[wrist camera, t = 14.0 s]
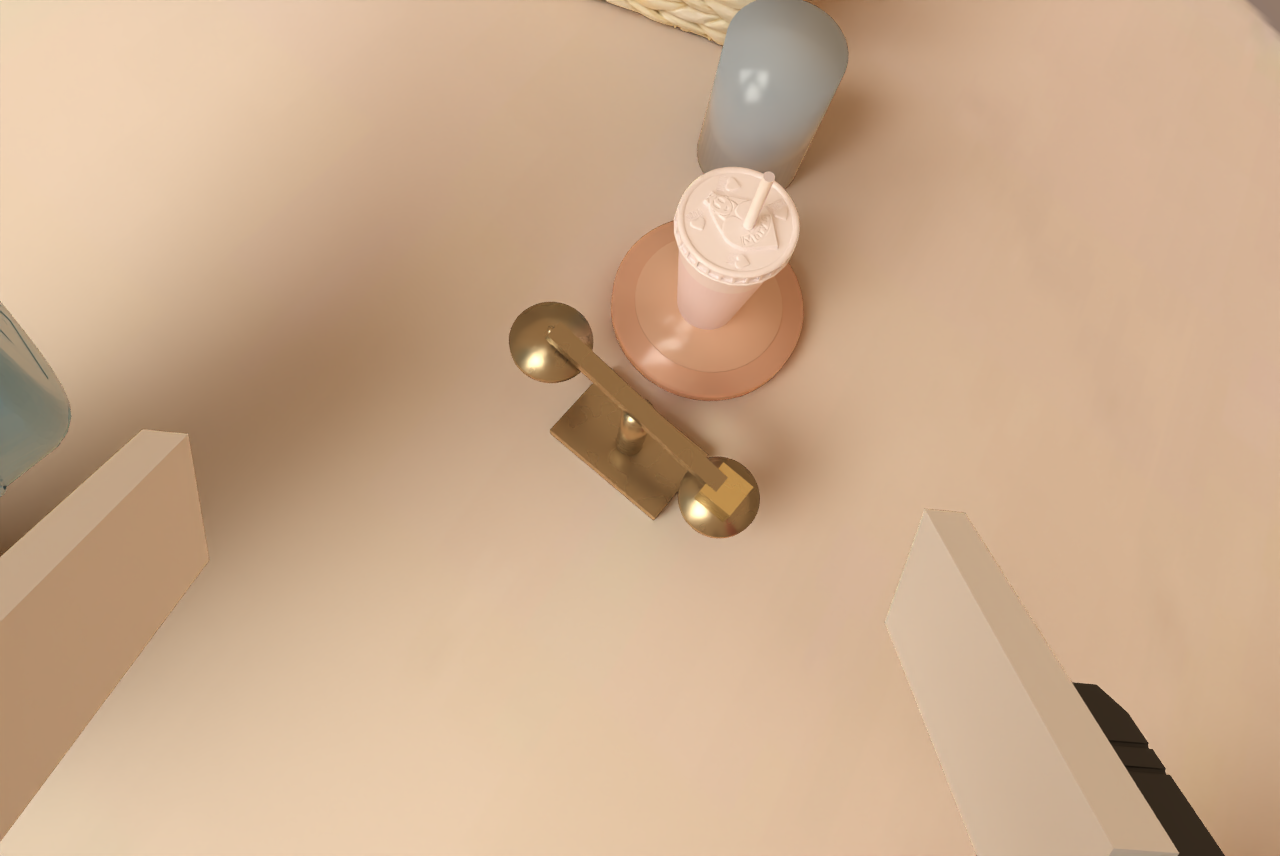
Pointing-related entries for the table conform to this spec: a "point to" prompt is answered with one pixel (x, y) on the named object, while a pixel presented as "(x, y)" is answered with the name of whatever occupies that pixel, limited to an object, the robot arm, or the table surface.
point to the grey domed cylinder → (772, 87)
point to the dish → (689, 353)
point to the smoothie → (730, 241)
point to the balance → (630, 430)
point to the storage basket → (689, 14)
